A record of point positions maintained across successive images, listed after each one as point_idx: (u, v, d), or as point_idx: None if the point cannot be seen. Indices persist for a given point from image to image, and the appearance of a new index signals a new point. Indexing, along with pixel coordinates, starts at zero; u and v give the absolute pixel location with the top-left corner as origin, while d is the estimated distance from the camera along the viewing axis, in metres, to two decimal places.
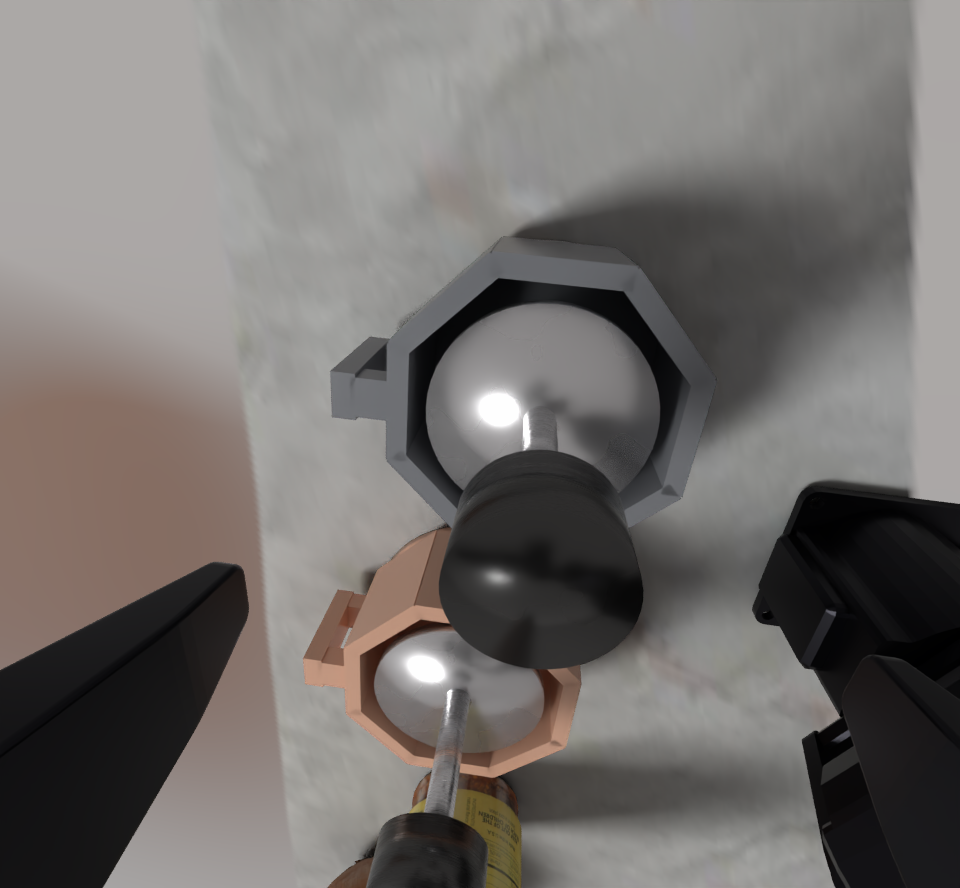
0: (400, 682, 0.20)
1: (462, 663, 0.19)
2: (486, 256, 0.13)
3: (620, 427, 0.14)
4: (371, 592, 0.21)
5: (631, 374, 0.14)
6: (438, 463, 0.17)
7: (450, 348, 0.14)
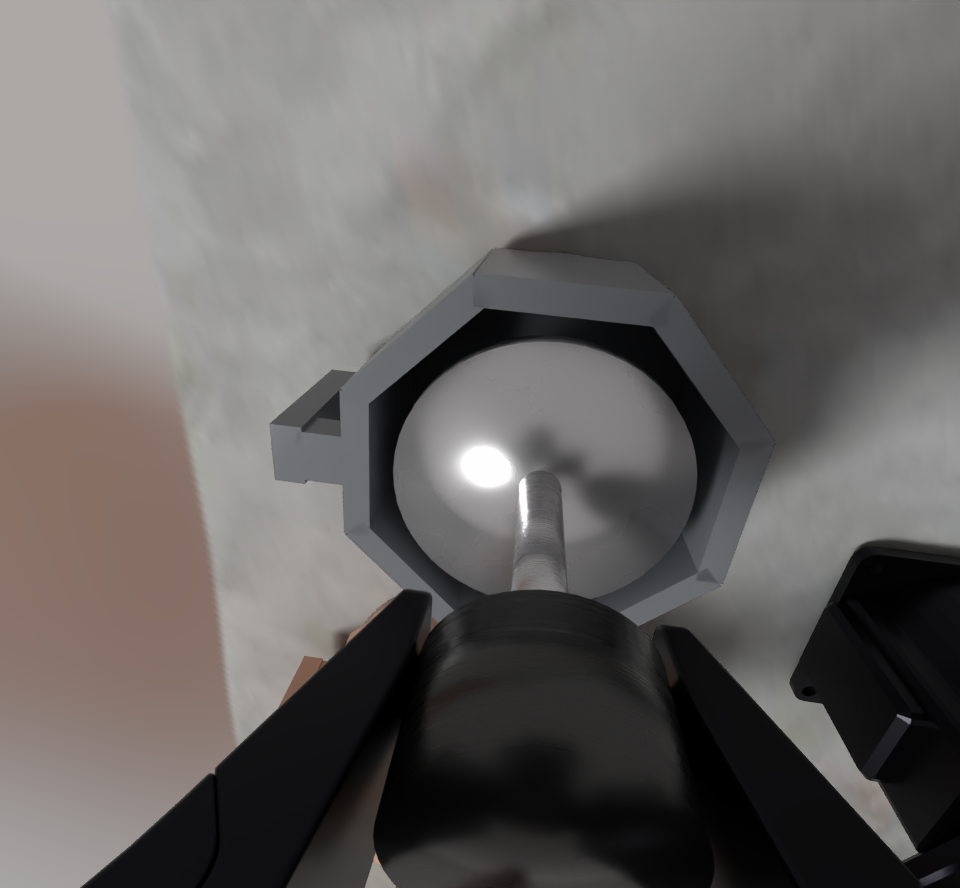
0: None
1: None
2: (467, 279, 0.09)
3: (643, 498, 0.11)
4: None
5: (660, 432, 0.10)
6: None
7: (422, 397, 0.11)
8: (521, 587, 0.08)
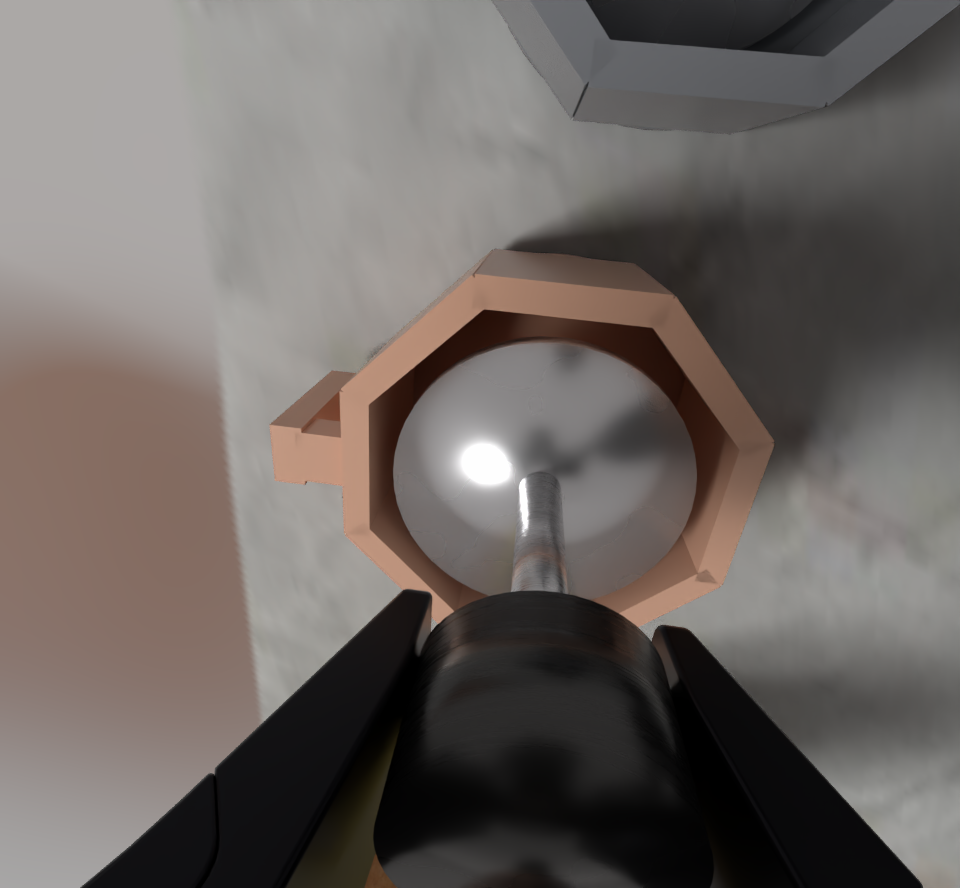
0: (439, 464, 0.11)
1: (554, 413, 0.11)
2: None
3: None
4: (387, 343, 0.13)
5: None
6: None
7: None
8: None
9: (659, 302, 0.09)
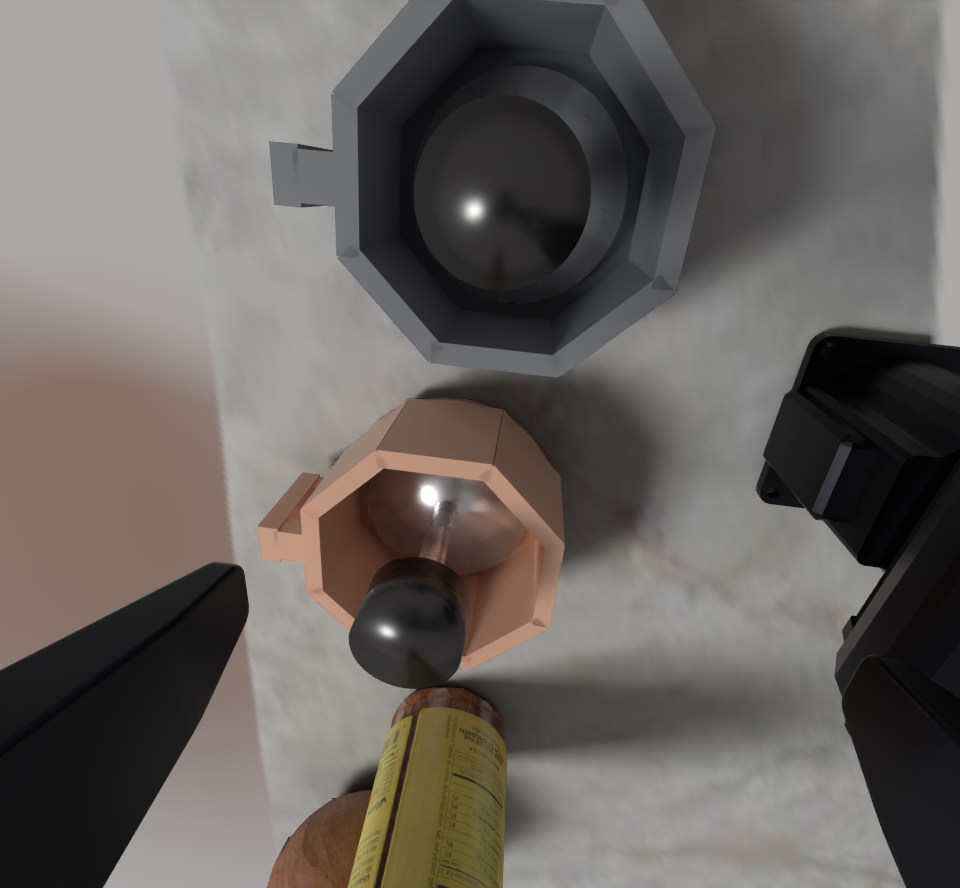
0: (392, 496, 0.21)
1: None
2: None
3: (591, 198, 0.16)
4: (336, 464, 0.19)
5: (600, 139, 0.15)
6: (400, 277, 0.15)
7: (434, 118, 0.15)
8: None
9: (484, 468, 0.16)
